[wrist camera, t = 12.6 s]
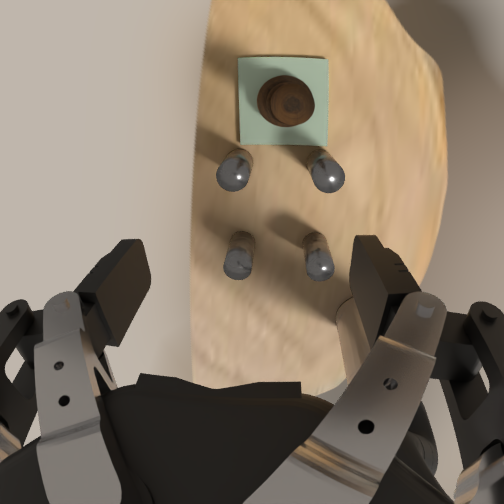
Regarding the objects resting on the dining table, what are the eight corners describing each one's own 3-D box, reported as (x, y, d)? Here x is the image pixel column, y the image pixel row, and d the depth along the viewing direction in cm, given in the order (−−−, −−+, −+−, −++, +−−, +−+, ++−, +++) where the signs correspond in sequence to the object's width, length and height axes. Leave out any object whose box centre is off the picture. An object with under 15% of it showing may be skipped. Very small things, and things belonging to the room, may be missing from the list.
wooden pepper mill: (268, 133, 35) (263, 165, 19) (249, 86, 32) (226, 78, 16) (318, 116, 33) (356, 136, 18) (300, 69, 30) (324, 46, 15)
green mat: (327, 60, 30) (328, 59, 29) (326, 145, 36) (327, 146, 35) (238, 58, 31) (237, 57, 30) (241, 143, 36) (240, 144, 36)
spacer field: (334, 150, 36) (346, 162, 30) (325, 254, 44) (332, 281, 38) (225, 149, 37) (215, 160, 31) (231, 252, 45) (224, 279, 39)
